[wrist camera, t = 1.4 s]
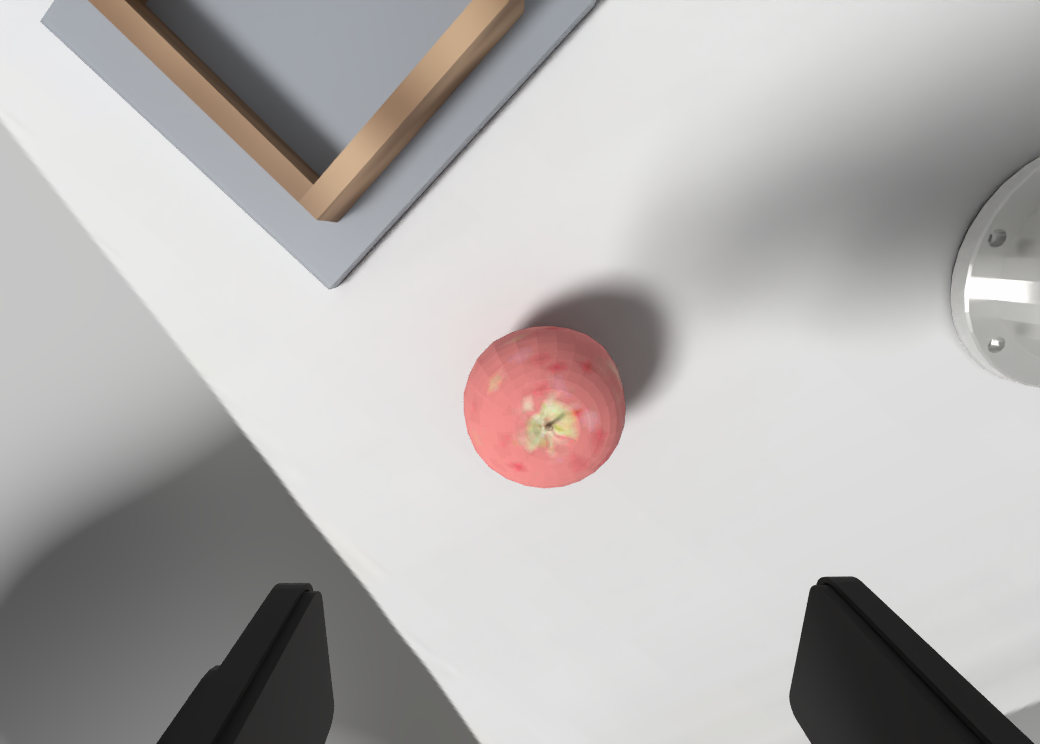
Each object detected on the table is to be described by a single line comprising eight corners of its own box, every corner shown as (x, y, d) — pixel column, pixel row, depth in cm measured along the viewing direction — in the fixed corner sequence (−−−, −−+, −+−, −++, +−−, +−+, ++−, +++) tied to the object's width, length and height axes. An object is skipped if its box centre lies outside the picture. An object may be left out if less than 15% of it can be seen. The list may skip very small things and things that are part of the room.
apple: (468, 314, 25) (449, 345, 17) (608, 312, 25) (650, 342, 18) (473, 444, 27) (458, 524, 19) (603, 442, 27) (639, 521, 19)
